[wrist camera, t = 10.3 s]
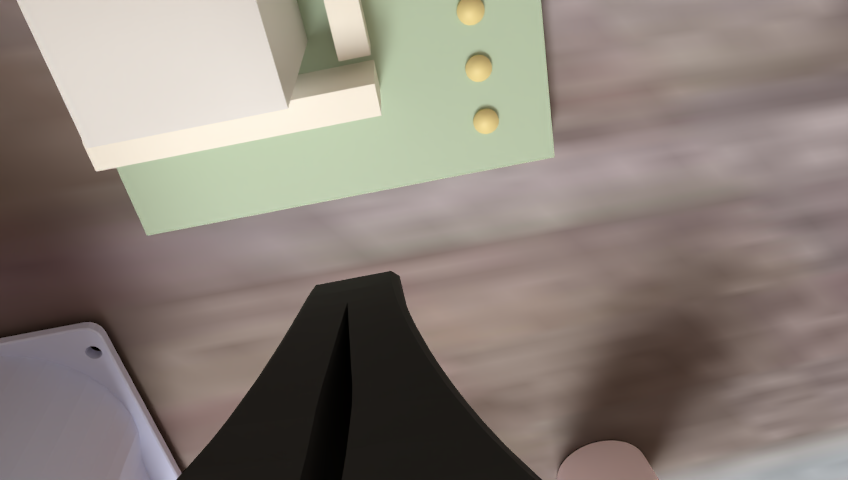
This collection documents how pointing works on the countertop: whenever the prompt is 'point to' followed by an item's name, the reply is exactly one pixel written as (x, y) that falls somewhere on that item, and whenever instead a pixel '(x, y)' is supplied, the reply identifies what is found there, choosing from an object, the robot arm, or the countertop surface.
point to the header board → (359, 114)
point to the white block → (167, 61)
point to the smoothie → (606, 463)
